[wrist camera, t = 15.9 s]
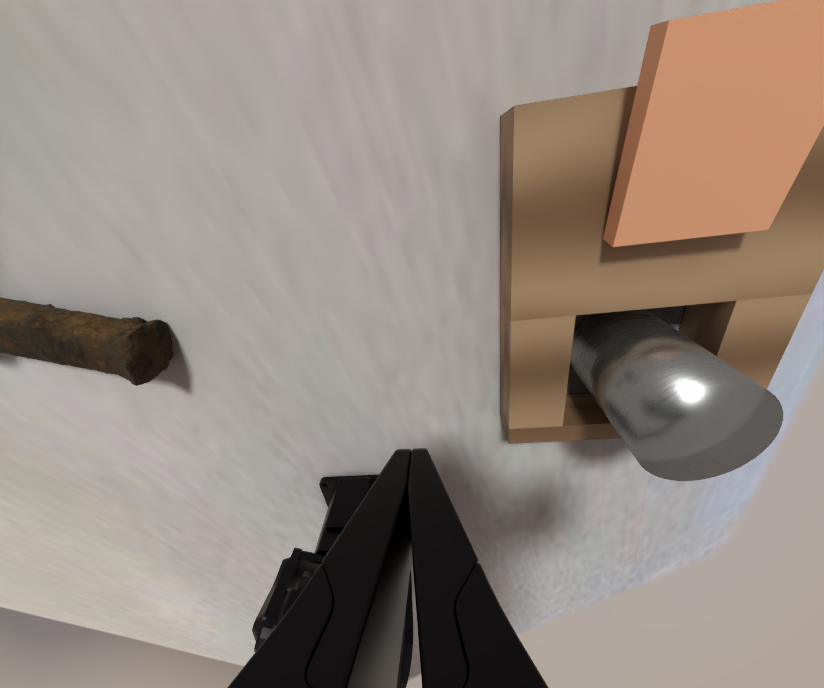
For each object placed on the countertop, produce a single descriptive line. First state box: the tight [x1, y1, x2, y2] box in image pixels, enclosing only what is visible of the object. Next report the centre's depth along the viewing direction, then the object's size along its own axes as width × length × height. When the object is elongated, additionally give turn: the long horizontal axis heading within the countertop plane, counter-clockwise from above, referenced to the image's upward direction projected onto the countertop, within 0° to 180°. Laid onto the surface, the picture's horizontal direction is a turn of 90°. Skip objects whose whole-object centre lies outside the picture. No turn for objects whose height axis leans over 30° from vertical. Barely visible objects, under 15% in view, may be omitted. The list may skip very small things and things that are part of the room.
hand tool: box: [0, 298, 173, 385], centre depth 20 cm, size 19×4×5 cm, turn 77°
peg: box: [570, 309, 783, 481], centre depth 17 cm, size 6×6×8 cm
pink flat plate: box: [603, 0, 824, 247], centre depth 12 cm, size 7×6×1 cm
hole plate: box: [500, 86, 824, 444], centre depth 17 cm, size 18×14×3 cm
